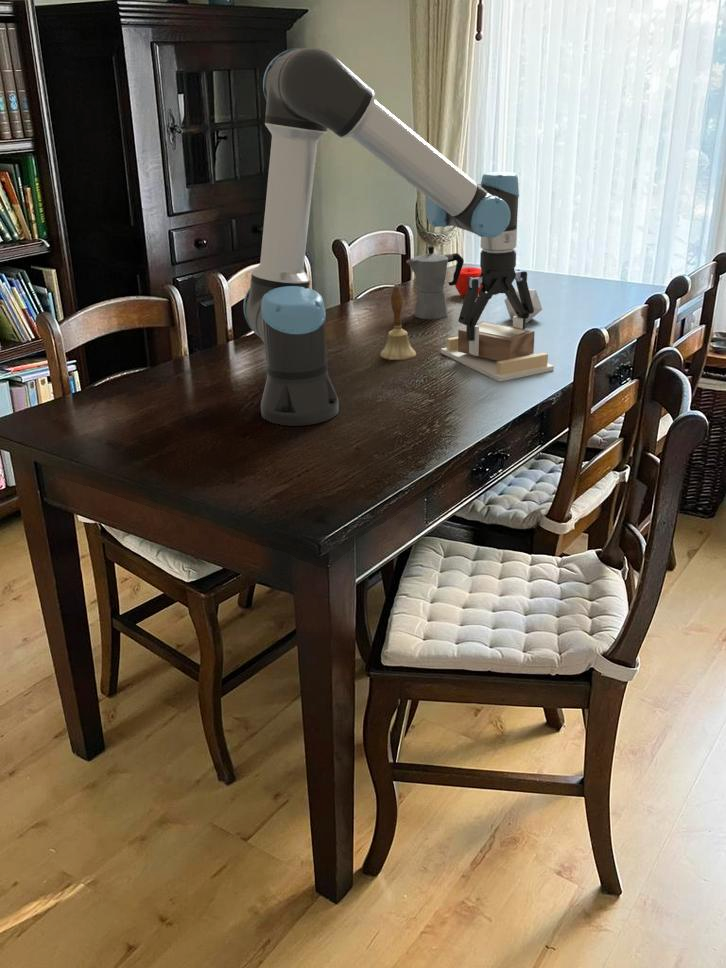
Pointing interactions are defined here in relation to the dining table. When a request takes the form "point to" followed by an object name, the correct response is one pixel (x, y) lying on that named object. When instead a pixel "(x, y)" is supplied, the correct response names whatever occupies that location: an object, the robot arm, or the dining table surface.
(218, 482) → the dining table surface
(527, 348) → the frame
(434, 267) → the coffeepot
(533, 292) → the die
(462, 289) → the apple
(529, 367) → the wall panel
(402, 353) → the hand bell
